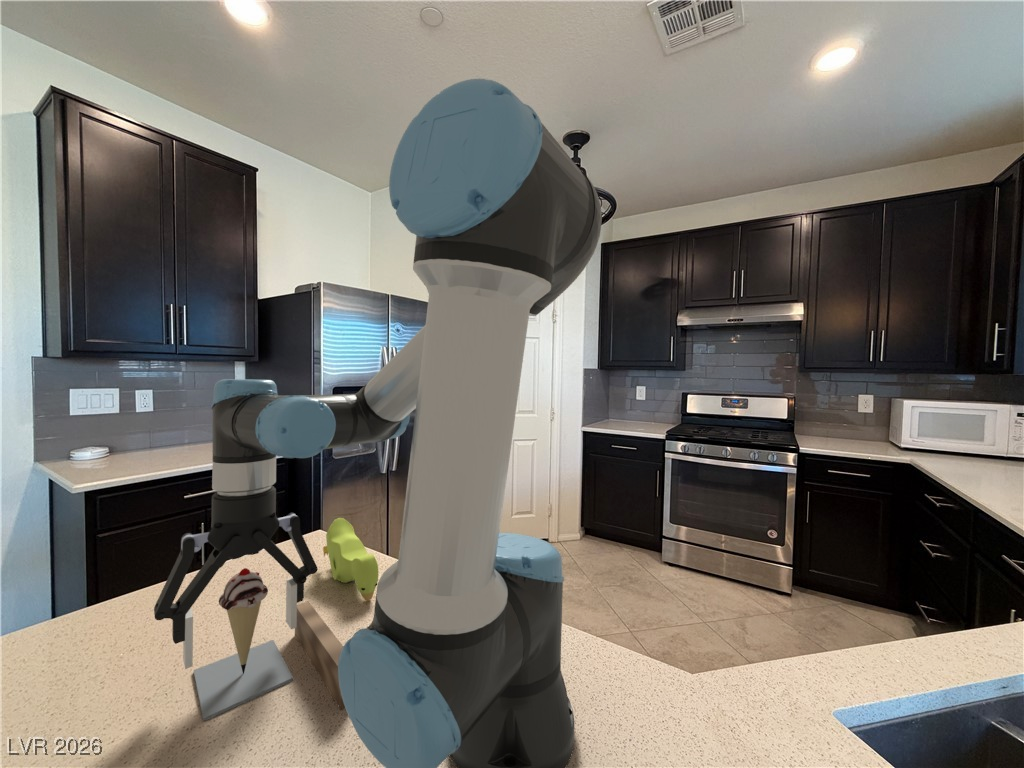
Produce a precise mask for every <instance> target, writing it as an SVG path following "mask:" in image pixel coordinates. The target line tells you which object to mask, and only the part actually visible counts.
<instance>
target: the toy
mask: <svg viewBox="0 0 1024 768" xmlns="http://www.w3.org/2000/svg"><path fill="white" fill-rule="evenodd" d="M325 538H326V545H325V546H323V547H322V549H323V550H322V551H323V556H324V557H325V556H326V555H327V556H328V558H329V564H330V570H331V574H332V579H333V580H334V581H336V580H337V581H339V582H340V581H341V582H340V583H344V584H345V583H346V584H347V583H349V582H352V581H355V585H356V587H357V590H358V591H359V593H360V596H362V598H363V600H364V601H365V602H370V600H372V598H373V596H374V593H375V590H376V588H377V586H378V582H379V563H378V560H377V558H376V557H375V555H374V554H373V553H369V554H368V552H367V548H366V547H365V545H364V544H363V542H362V541H361V539H360V538H359V537H358V536H357V535H356V534H355V529H354V526H353V525H352V524H351V523H350V521H348V520H347V519H345V518H344V517H338V518H336V519H334V520H333V521H332V523H331V524H330V526H329V527H328V530H327V531H326V534H325Z"/></svg>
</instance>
